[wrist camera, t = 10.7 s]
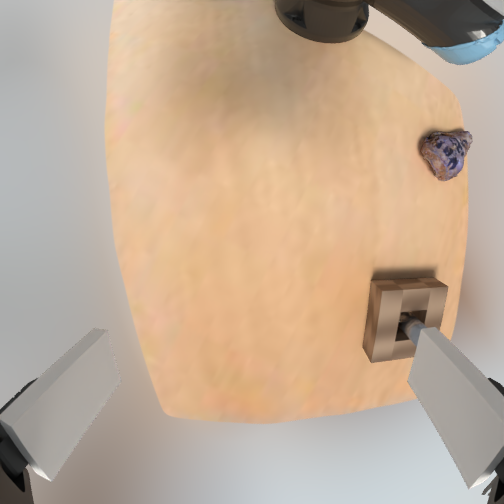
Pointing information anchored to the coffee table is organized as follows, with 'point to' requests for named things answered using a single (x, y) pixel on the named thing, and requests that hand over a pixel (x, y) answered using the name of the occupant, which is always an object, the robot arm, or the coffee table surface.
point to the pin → (411, 326)
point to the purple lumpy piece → (446, 152)
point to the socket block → (388, 312)
